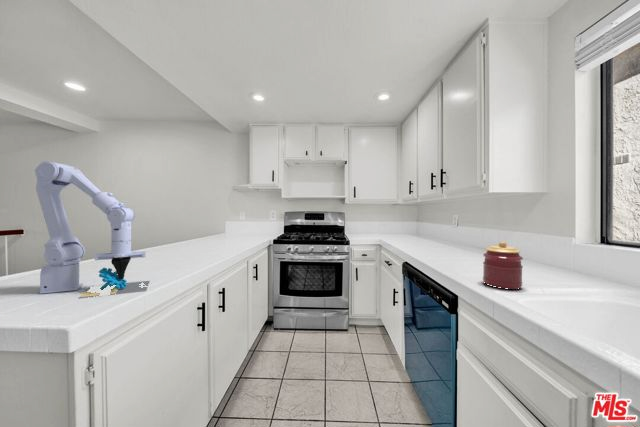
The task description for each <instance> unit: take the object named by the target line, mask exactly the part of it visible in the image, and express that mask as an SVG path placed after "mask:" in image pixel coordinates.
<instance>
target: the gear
mask: <svg viewBox="0 0 640 427" xmlns="http://www.w3.org/2000/svg"><path fill="white" fill-rule="evenodd" d="M112 271H113V269H112V268H110V267H108V269H107V267H103V268H101V269H100V270H98V273H99V274H98V277H99V278H102V282H103V283H104V284H102V285H103V286H102V287H101V288H100V289H101V290H103V289H104V288H106V287H107V286H108V285H109V286H110V287H111V286H113V285H116V286H115V287H114V288H115V289H119V288H120V289H124V288H125V287H126V286H127V284H126V283H128V282H127V279H125V278H123V279H119V278H118V274H117V271H116V270H114V271H113V272H112Z"/></svg>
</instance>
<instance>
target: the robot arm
mask: <svg viewBox="0 0 640 427" xmlns="http://www.w3.org/2000/svg"><path fill="white" fill-rule="evenodd" d="M34 172H35V177H36V184H35V185H36V186H35V190H36V193H37V197H38V200H39V204H40V207H41V211H42V214H43V219H44V221H45V225H46V229H47V231H48V235H49V237H50V238H49V239H48V241H47V242H46V243H44V244H43V245H44V249H45V250H44V260H45V261H46V263H48V264H45V265H43V266H42V268H41V270H40V275H39V278H40V280H39V285H40V286H39V289H40V290H39V291H40V292H38V293H39V295H41V294H49V293H51V294H52V293H61V292H62V293H63V292H71V291H77V290H79V289H80V288H81V287H82V286H83V285H84V283H82V282H81V283H80V262H81V260H82V259H83V257H84V256H85V253H86V250H85V247H84V245H83V244H82V243H81V242H80V240H79V238H77V237H76V236H75V235H73V233H72V230H71V227H70V223H69V220H68V218H67V213H66V210H65V206H64V203H63V202H64V201H63V198H62V196H61V191H62V190H63V189H65V188H67V187H68V186H70V185H71V184H72V185H74V186H75V187H76V188H78V189H79V190H81V191H82V192H84V193H85V194H86V195H87V196H89V197H90V198H91V201H92V202H91V203H92V204H93V205H94V206H95V207H97V209H99V210H101V212H103V213H104V214H105V215H106V219H107V221H108V222H109V223H110V228H111V229H110V232H111V233H110V234H111V235H110V239H111V241H110V242H111V243H110V244H111V245H110V247H111V248H110V249H111V250H110V252H108V253H107V252H105V253H96V254H94V261H99V260H111V261H110V262H111V265H112V266H113V268H114V269H115V271H117V275H118V278H119V279H125V274H126V270H127V267H128V265H129V263H130V261H131V259H135V258H137V259H138V258H142V259H143V258H146V256H147V252H146V251H132V222H133V220H134V219H135V217H136V216H135V215H136V214H135V211H134V210H133V208H132V207H129V206H125V204H124V203H123V202H120V201H119V200H118V199H116V198H115V197H114V194H113V193H112V192H107V191H101V190H100V189H99V188H98V187H97V186H96V185H94V183H93V182H92V181H90V180H89V179H88V178H87V177H86V176H85V175H84V174H83V172H82V171H81V170H79V169H78V168H77V167H76V166H74V165H71V164H65V163H58V162H54V161H51V160H45V161H42V162H41V163H39V164H38V166H36V168H35V169H34Z"/></svg>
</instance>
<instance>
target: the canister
mask: <svg viewBox="0 0 640 427" xmlns="http://www.w3.org/2000/svg"><path fill="white" fill-rule="evenodd" d="M485 250H486V252H485V253H483V254H482V255H483V258H484V261H483V262H482V264H483V272H482V273H483V276H482V281H483V282H485V283H486V284H489V285H492V286H496V287H501V288H508V289H518V288H521V289H522V286H523V267H524V266H523V265H522V260H523V259H524V257H523V256H521V255H520V253H521V250H518V249H517V248H516V247H513V246H508V244H507V242H506V241H504V240H503V241H500V242H499V243H498V245H489V247H486V248H485Z"/></svg>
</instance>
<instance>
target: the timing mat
mask: <svg viewBox="0 0 640 427" xmlns="http://www.w3.org/2000/svg"><path fill="white" fill-rule="evenodd" d="M142 282H143V283H144V284H145V285H146V286H148V287H149V285H148V284H150V282H151V281H150V280H142V281H141V280H140V281H132V282H126V284H127V286H126V287H125V288H124V289H120V288H119V289H115V288H113V289H111V292H110V295H109V296H115V294H116V295H123V294H133V293H139V292H140V293H141V292H142V293H143V292H147V290H148V287H143V288H141V287H139V286H141V285H139V284H141V283H142ZM145 285H143V286H145ZM99 295H100V293H96V292H95V293H91V292H86V291H85V292H83V293H82V295H80V296H79V297H78V300H80V299H89V298H94V296H95V298H97V297H96V296H98V297H100V296H99ZM88 297H89V298H88Z"/></svg>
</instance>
